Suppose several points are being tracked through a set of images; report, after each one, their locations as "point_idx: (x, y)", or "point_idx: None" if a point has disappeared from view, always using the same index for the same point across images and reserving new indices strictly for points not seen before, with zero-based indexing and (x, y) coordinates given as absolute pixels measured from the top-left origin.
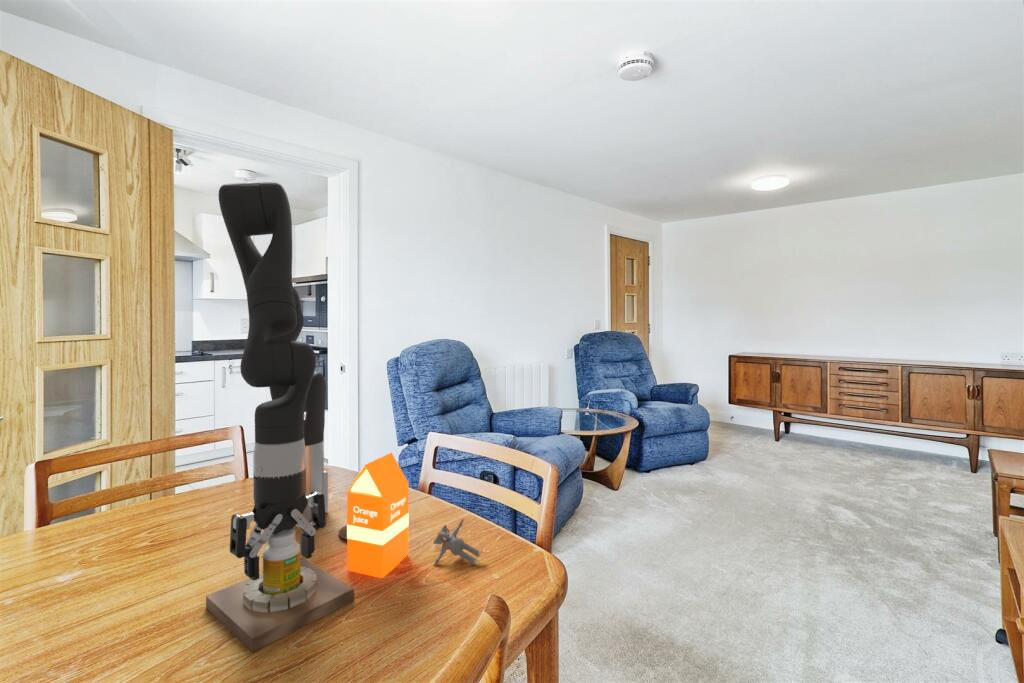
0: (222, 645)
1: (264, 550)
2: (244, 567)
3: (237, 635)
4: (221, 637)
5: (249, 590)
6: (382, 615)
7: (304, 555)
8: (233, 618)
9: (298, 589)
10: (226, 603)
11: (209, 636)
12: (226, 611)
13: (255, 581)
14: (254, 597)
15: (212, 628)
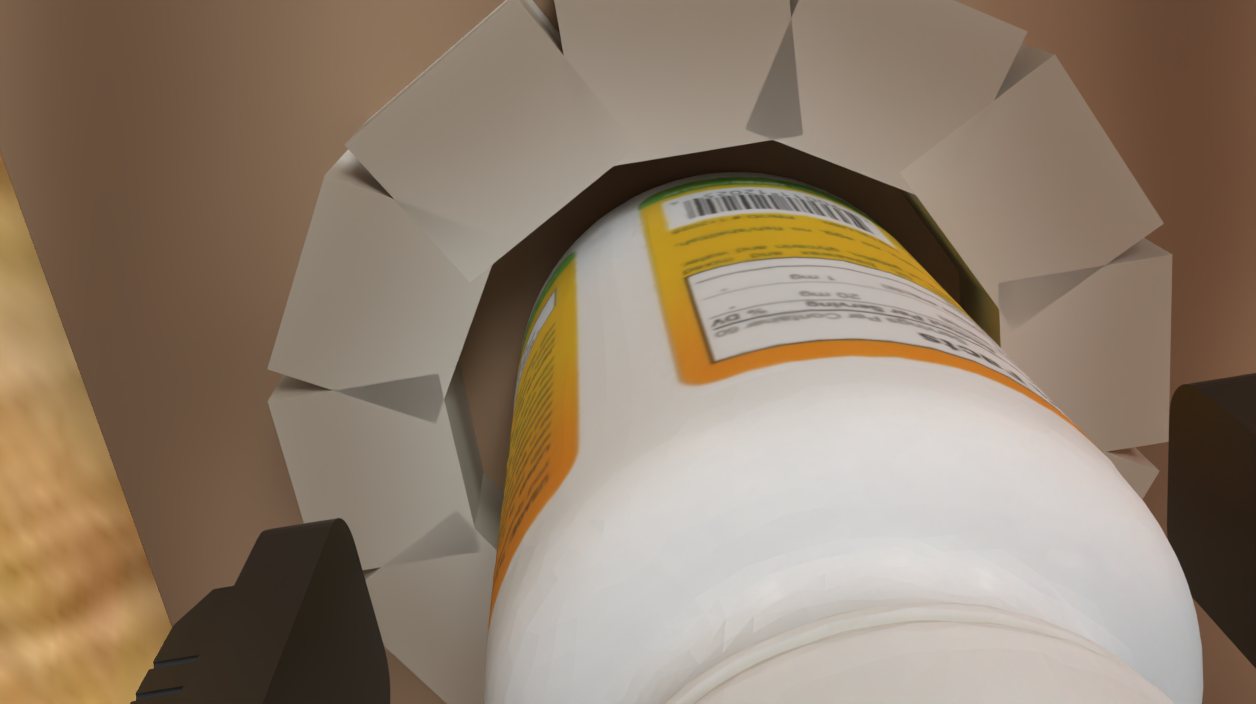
0: (106, 608)
1: (514, 700)
2: (145, 684)
3: None
4: (105, 497)
5: (350, 353)
6: None
7: (1185, 490)
8: (165, 559)
9: None
10: (123, 207)
11: (5, 417)
12: (111, 381)
13: (469, 159)
14: (371, 543)
15: (33, 304)
